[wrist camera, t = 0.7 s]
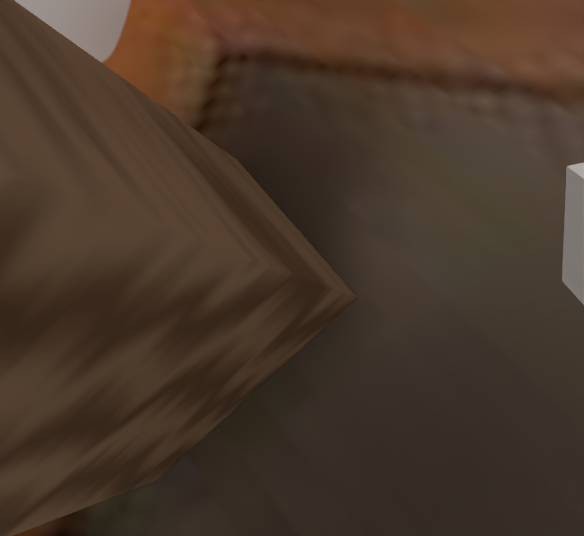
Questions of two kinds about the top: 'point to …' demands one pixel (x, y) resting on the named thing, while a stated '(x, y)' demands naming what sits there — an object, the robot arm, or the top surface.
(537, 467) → the top surface
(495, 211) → the top surface
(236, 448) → the top surface
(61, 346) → the stand
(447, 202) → the top surface
